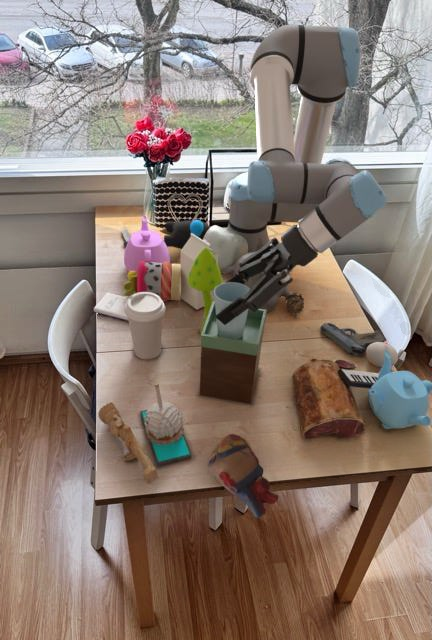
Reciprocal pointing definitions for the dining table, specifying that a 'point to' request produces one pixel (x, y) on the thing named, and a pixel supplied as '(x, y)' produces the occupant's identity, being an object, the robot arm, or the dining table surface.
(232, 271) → the piggy bank
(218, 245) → the planter
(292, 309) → the pendant
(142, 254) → the teapot
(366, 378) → the midi keyboard
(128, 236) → the knife
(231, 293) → the cup
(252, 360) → the stand
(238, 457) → the anatomical model
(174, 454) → the smartphone
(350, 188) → the robot arm
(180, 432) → the decorative ornament
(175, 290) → the cake
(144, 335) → the coffee cup
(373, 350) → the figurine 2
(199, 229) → the toy
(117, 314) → the hard drive
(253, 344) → the tray
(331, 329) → the handgun
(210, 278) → the mushroom
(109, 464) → the dining table surface
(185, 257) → the milk carton
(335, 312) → the dining table surface
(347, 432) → the cured meat
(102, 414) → the figurine
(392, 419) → the teapot
